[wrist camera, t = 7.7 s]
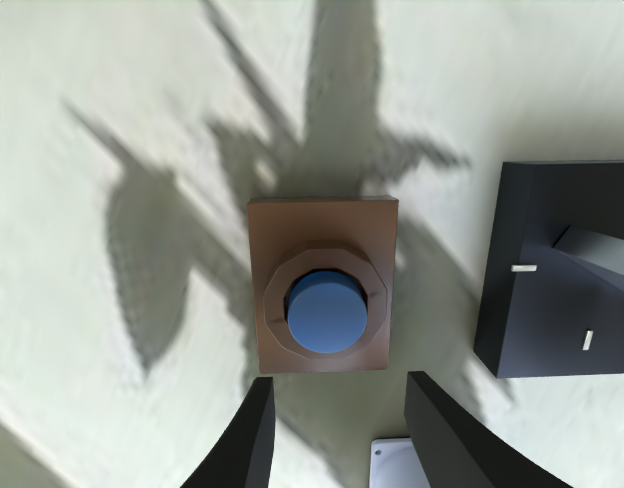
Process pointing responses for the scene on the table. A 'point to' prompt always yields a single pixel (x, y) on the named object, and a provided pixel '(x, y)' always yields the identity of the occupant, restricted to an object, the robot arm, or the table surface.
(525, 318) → the tap deck
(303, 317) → the button
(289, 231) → the button block
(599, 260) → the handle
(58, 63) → the table surface
